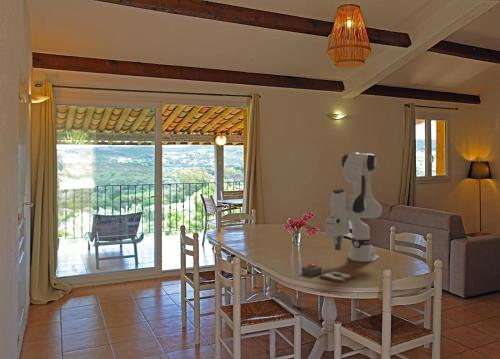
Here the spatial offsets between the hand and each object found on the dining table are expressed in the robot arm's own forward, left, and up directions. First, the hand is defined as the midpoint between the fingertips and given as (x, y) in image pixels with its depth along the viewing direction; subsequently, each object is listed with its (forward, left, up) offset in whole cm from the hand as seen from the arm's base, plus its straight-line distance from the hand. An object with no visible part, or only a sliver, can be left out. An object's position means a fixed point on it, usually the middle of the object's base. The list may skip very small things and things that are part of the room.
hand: (337, 243), depth 239 cm
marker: (0, 0, -4) cm, 4 cm away
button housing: (+3, -15, -20) cm, 25 cm away
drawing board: (0, 0, -20) cm, 20 cm away
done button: (+3, -15, -17) cm, 23 cm away
